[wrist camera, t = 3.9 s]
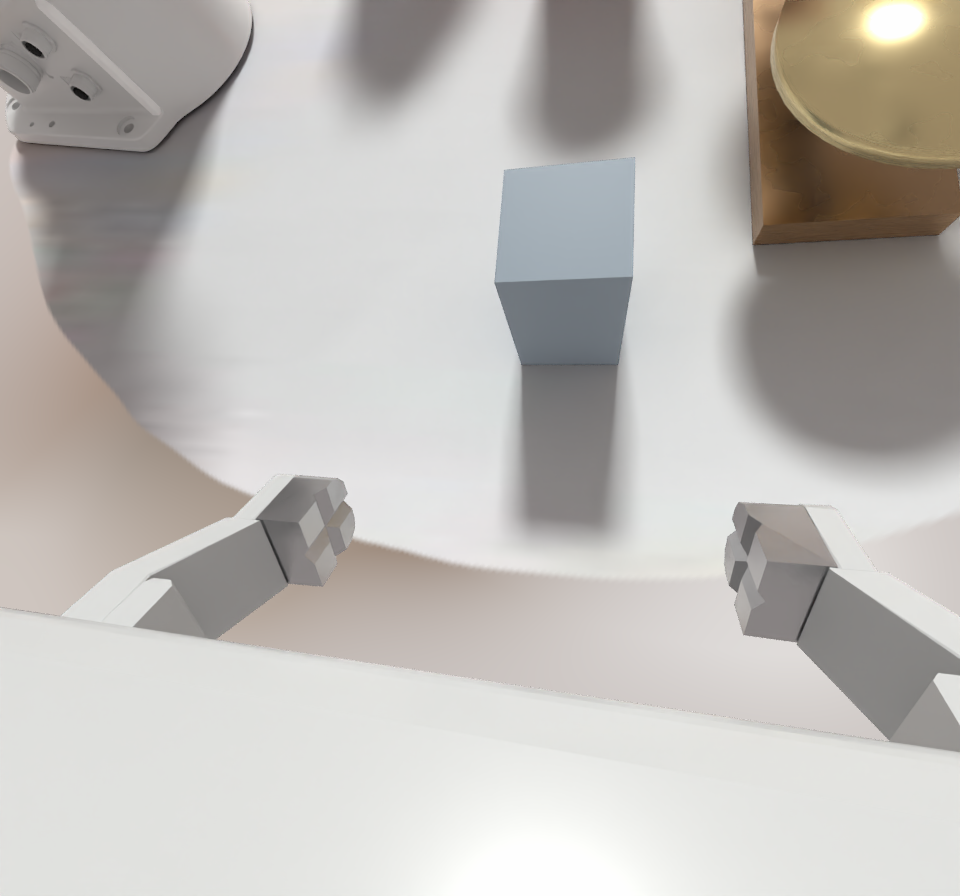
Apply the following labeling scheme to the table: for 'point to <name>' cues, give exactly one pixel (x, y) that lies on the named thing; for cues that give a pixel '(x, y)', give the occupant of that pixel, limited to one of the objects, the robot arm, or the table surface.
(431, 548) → the table surface
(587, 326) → the block
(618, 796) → the robot arm
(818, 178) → the balance
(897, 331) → the table surface
